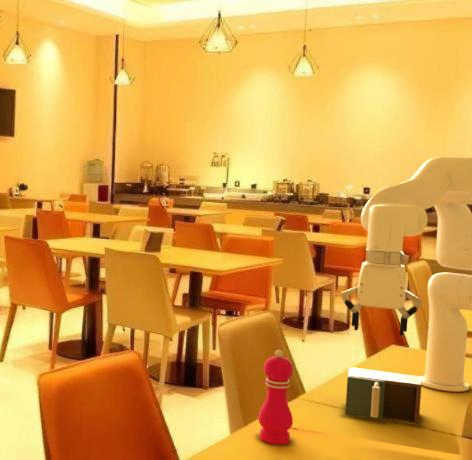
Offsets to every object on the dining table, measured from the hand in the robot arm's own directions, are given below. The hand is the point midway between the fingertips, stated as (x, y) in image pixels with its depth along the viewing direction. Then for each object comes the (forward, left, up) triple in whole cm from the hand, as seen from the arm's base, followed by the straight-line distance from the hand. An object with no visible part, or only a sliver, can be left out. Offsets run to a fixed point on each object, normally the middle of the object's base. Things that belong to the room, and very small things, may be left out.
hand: (378, 331), depth 175 cm
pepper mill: (+21, -19, -22) cm, 36 cm away
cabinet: (-8, +2, -22) cm, 24 cm away
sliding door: (0, -2, -22) cm, 22 cm away
